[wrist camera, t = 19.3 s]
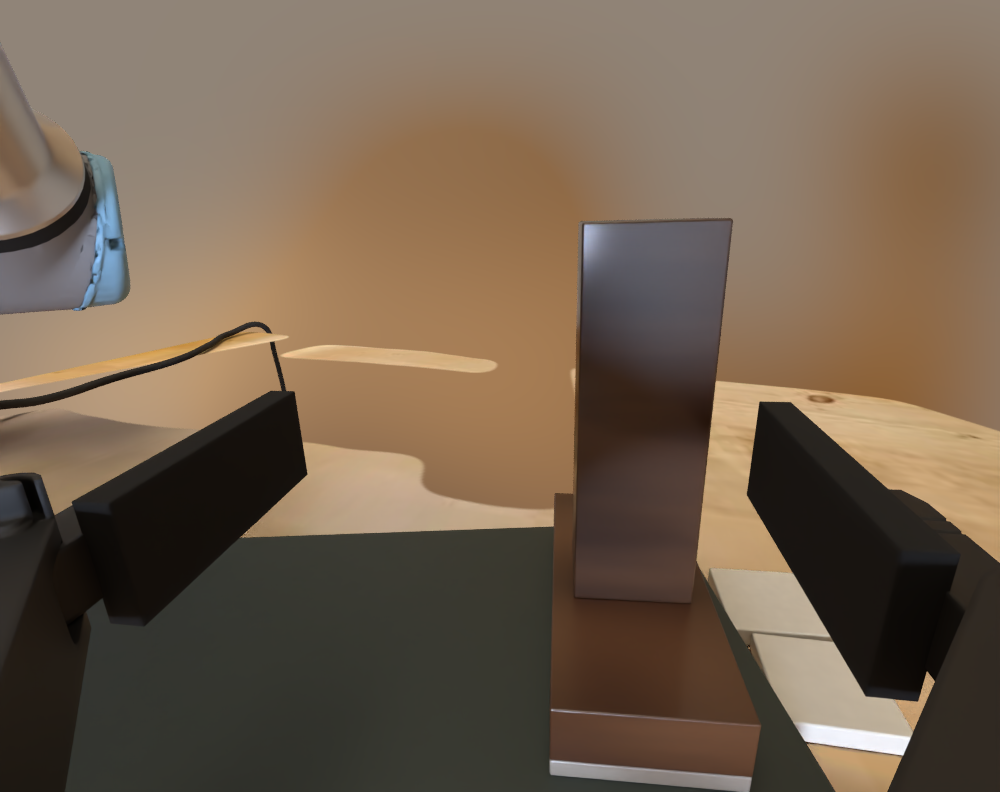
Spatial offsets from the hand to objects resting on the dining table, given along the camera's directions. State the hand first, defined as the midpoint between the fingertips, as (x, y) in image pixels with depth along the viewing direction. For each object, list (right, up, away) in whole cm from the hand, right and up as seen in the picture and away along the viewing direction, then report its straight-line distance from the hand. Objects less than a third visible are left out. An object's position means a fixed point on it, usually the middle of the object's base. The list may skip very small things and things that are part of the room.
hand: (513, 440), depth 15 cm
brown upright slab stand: (+4, -8, +5) cm, 10 cm away
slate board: (-8, -9, +6) cm, 14 cm away
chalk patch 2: (+11, -10, +4) cm, 15 cm away
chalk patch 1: (+11, -8, +8) cm, 16 cm away
